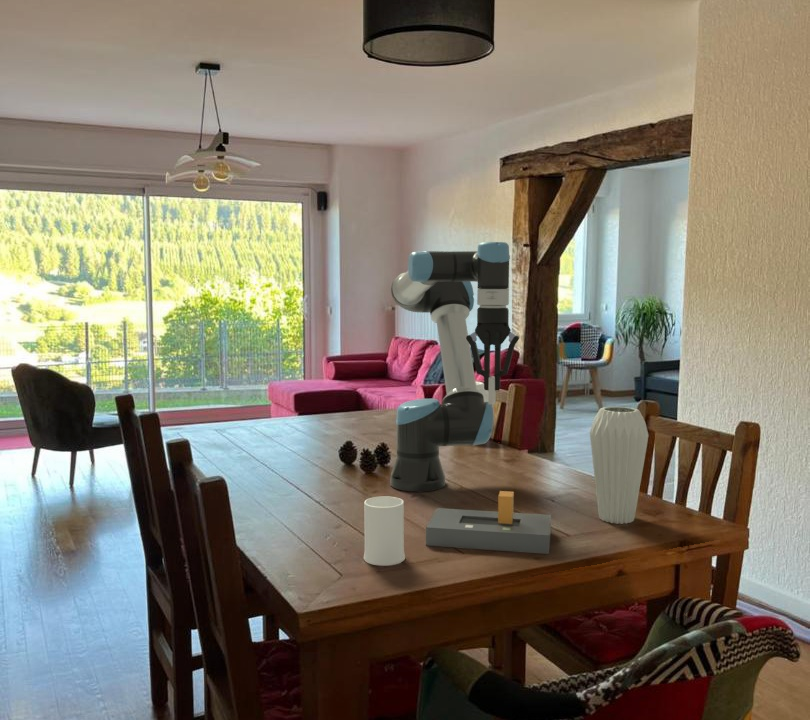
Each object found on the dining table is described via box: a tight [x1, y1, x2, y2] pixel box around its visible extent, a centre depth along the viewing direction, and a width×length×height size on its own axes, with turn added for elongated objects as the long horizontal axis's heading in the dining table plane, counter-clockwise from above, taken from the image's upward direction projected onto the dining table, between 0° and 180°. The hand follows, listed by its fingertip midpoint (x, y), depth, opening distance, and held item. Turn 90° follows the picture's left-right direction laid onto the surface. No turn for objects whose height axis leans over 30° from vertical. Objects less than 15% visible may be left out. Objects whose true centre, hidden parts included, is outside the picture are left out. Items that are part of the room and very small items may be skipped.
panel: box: [425, 507, 552, 555], centre depth 174 cm, size 26×14×4 cm, turn 78°
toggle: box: [497, 490, 515, 524], centre depth 172 cm, size 3×4×6 cm
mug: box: [363, 495, 406, 567], centre depth 163 cm, size 12×8×12 cm
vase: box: [589, 405, 650, 525], centre depth 186 cm, size 13×13×26 cm
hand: (492, 403), depth 193 cm, fingers closed
